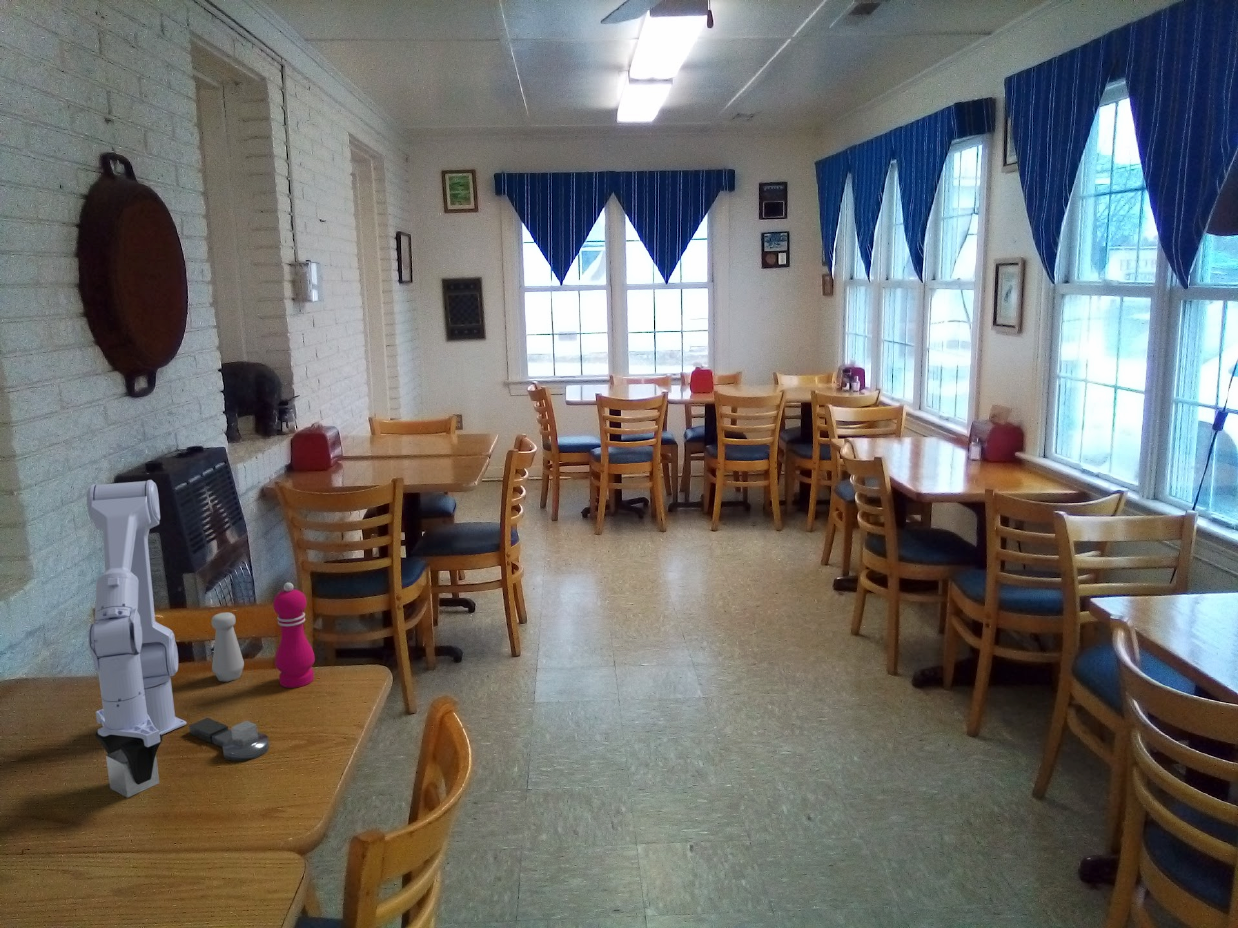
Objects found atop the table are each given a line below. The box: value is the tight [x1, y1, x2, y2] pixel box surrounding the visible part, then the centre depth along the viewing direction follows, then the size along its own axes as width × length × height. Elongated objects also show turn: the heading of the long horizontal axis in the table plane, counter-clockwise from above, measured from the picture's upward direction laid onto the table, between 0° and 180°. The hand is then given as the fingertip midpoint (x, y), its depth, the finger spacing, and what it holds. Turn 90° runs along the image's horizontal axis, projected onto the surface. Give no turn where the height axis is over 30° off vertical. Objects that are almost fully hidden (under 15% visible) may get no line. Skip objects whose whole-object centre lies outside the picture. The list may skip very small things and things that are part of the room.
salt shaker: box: [211, 611, 245, 683], centre depth 181 cm, size 6×6×13 cm
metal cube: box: [105, 749, 160, 799], centre depth 142 cm, size 5×5×6 cm
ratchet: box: [188, 717, 270, 762], centre depth 155 cm, size 17×7×4 cm, turn 56°
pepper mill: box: [272, 582, 316, 689], centre depth 178 cm, size 7×7×20 cm
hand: (133, 775), depth 142 cm, fingers closed on metal cube, 5 cm apart
